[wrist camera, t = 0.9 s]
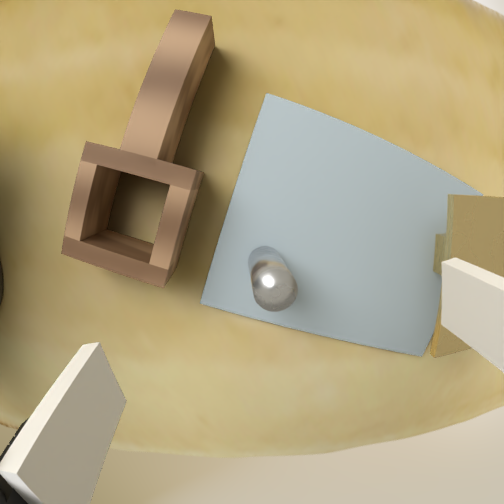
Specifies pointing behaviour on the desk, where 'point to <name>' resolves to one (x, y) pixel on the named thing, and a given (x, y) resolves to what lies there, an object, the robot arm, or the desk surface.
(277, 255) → the cylinder
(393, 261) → the board
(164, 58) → the link
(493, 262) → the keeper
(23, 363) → the desk surface
